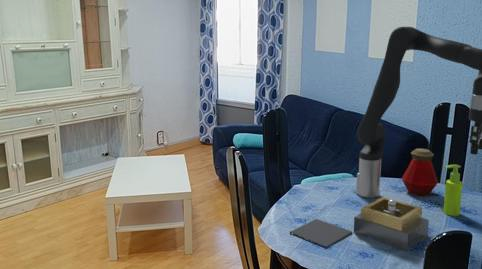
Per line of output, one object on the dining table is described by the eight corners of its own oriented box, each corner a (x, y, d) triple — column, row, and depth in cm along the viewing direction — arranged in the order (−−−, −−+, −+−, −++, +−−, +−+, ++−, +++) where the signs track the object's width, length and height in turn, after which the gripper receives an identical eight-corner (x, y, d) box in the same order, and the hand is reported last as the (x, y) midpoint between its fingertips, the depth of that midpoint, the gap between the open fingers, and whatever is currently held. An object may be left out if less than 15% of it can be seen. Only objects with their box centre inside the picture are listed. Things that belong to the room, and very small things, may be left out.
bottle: (394, 191, 192) (397, 149, 188) (411, 184, 200) (414, 144, 196) (426, 201, 180) (430, 156, 176) (443, 194, 188) (447, 151, 184)
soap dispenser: (437, 210, 170) (442, 163, 166) (454, 209, 170) (458, 162, 166) (446, 216, 164) (450, 167, 160) (462, 215, 165) (467, 167, 160)
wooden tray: (360, 218, 149) (361, 208, 149) (382, 206, 160) (382, 196, 159) (401, 231, 139) (402, 220, 138) (421, 218, 149) (422, 207, 148)
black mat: (289, 233, 152) (289, 231, 152) (316, 220, 163) (316, 218, 163) (326, 248, 141) (326, 246, 141) (352, 233, 151) (352, 231, 151)
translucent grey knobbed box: (353, 232, 152) (355, 198, 149) (376, 219, 163) (377, 187, 160) (406, 251, 138) (409, 214, 135) (427, 235, 149) (430, 201, 146)
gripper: (474, 103, 155) (470, 146, 159) (465, 109, 145) (460, 154, 148) (498, 105, 150) (492, 149, 154) (489, 111, 140) (483, 157, 143)
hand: (476, 151), depth 151 cm, fingers open, 8 cm apart
